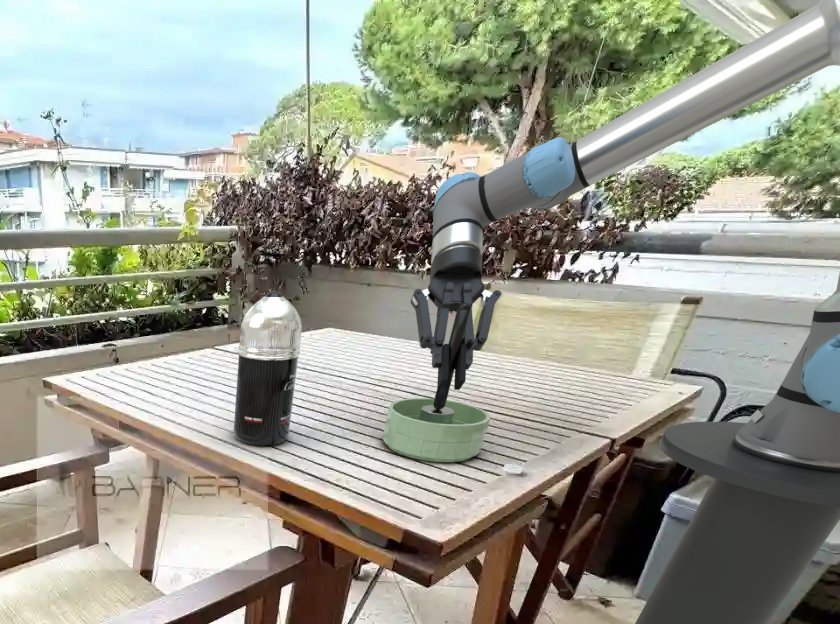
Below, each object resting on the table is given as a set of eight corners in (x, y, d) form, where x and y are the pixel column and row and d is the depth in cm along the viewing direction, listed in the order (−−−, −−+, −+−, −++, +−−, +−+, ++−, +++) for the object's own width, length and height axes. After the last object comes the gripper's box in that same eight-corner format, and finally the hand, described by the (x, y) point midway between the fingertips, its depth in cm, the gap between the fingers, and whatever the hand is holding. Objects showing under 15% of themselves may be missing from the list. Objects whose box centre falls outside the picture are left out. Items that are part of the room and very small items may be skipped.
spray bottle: (223, 441, 99) (232, 293, 87) (244, 425, 107) (255, 286, 94) (278, 452, 94) (295, 296, 82) (296, 434, 102) (315, 289, 90)
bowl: (491, 446, 95) (502, 410, 92) (460, 471, 86) (471, 432, 82) (403, 427, 104) (410, 393, 101) (366, 448, 95) (374, 411, 92)
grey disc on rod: (455, 422, 93) (488, 302, 84) (444, 430, 90) (477, 305, 81) (425, 416, 96) (454, 299, 87) (413, 423, 93) (442, 303, 84)
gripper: (496, 277, 94) (493, 399, 88) (402, 276, 97) (394, 394, 91) (515, 243, 87) (514, 374, 81) (414, 244, 90) (406, 369, 84)
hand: (451, 384), depth 86 cm, fingers closed on grey disc on rod, 2 cm apart
